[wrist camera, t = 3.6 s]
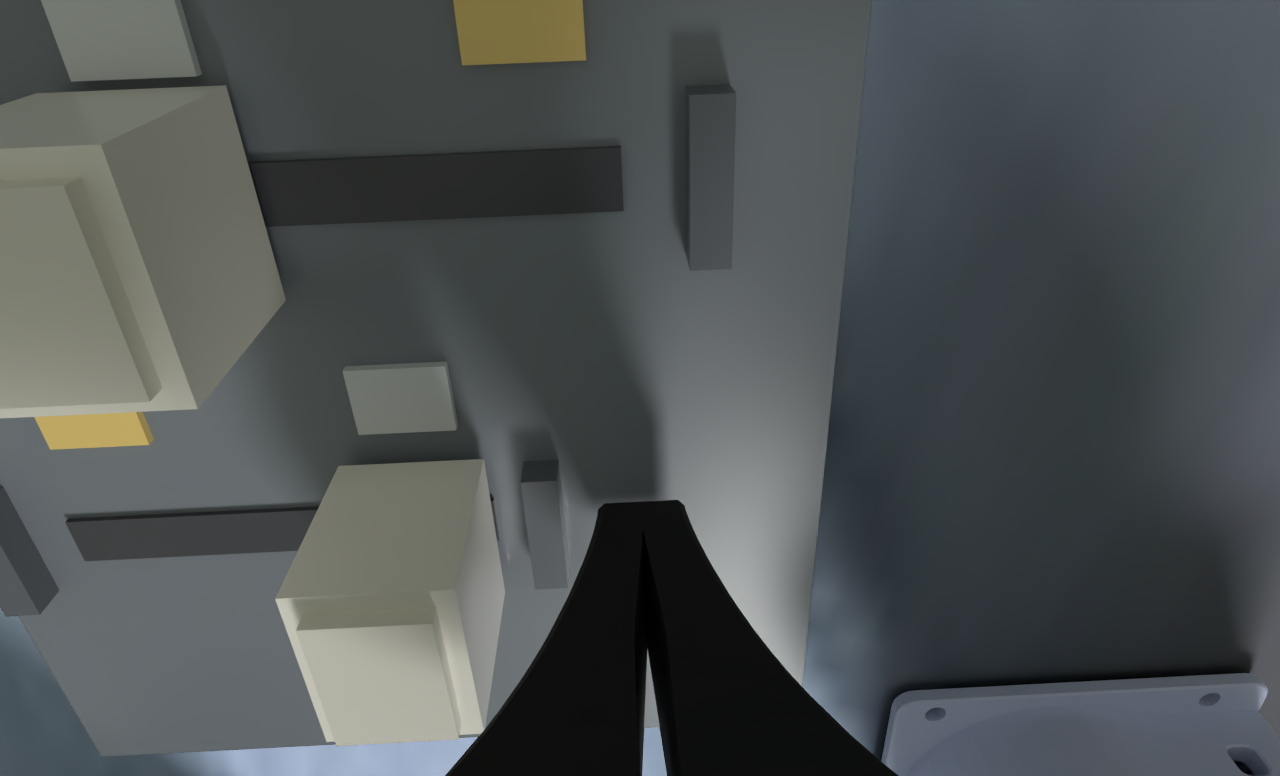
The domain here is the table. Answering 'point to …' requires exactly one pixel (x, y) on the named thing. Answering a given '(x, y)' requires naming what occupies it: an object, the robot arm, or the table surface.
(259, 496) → the switch unit
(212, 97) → the knob near
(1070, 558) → the table surface
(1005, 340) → the table surface
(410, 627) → the knob far
